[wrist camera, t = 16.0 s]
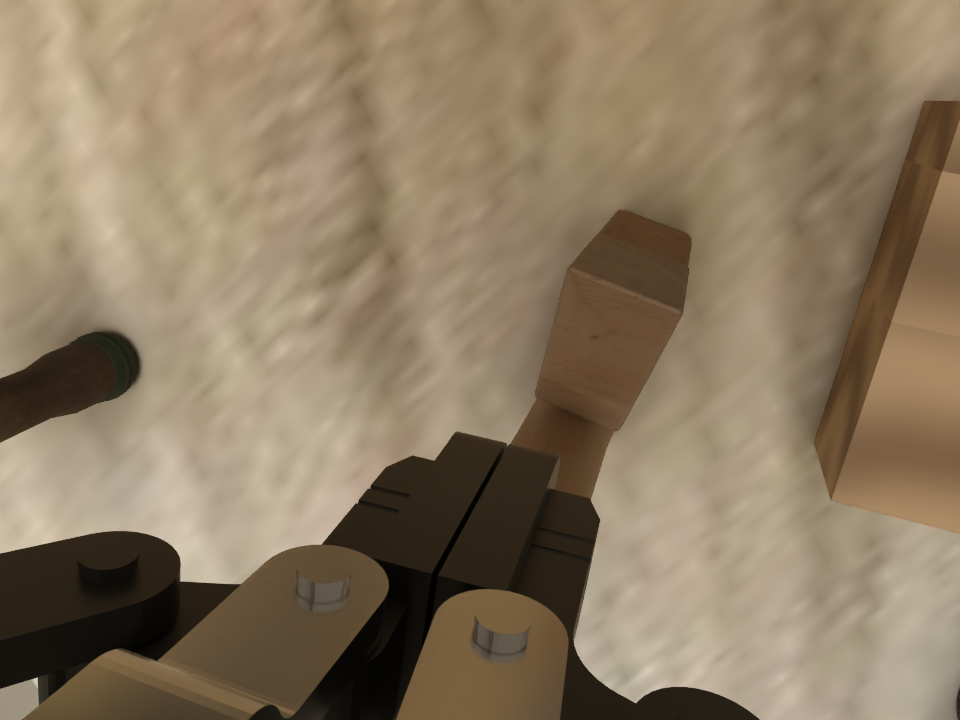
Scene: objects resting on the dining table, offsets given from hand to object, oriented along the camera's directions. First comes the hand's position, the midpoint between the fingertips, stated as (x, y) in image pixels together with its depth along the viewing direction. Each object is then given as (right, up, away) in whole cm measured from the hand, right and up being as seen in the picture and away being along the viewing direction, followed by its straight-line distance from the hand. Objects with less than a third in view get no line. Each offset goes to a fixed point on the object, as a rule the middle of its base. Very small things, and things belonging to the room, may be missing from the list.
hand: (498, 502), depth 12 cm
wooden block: (+6, +3, +28) cm, 29 cm away
